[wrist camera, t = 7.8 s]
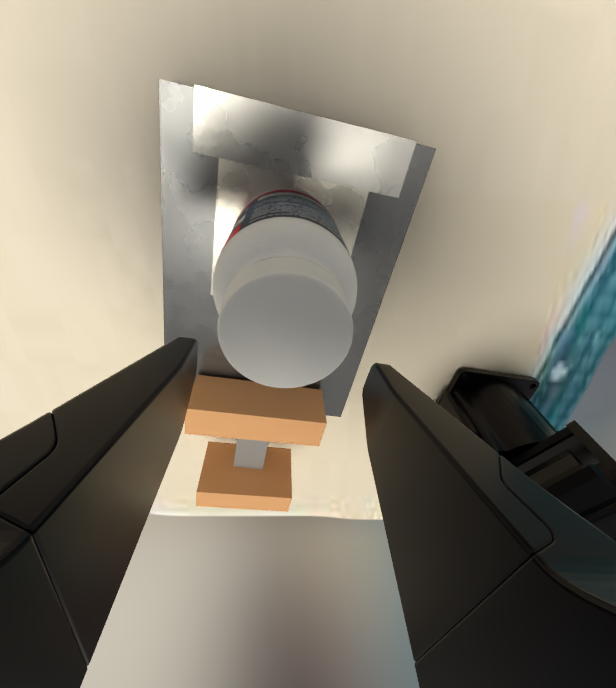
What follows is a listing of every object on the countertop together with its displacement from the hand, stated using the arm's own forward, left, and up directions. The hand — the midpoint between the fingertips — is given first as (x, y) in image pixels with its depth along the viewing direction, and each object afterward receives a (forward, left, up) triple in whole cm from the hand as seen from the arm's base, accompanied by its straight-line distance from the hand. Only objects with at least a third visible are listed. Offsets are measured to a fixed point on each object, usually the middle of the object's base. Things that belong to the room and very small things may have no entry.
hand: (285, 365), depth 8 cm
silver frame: (0, +3, -12) cm, 12 cm away
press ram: (0, +13, -10) cm, 16 cm away
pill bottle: (0, 0, -11) cm, 11 cm away
